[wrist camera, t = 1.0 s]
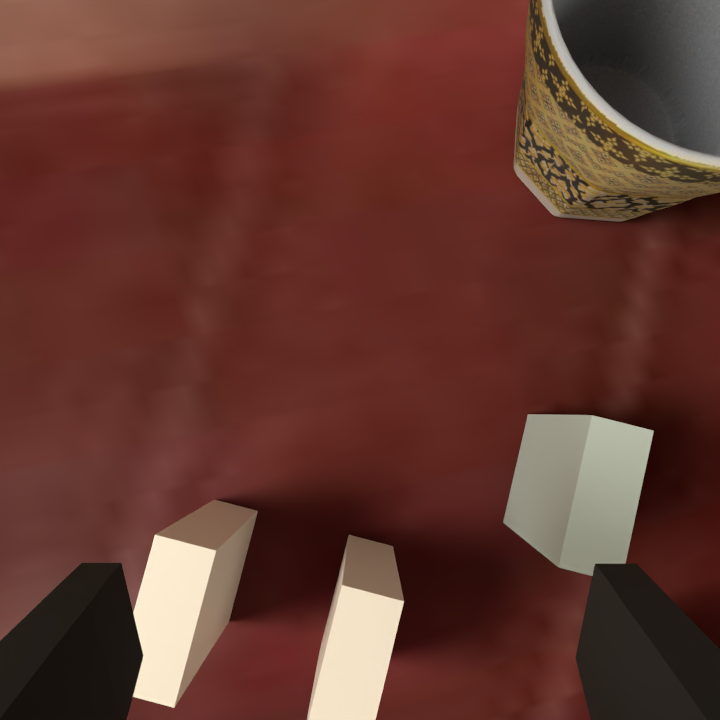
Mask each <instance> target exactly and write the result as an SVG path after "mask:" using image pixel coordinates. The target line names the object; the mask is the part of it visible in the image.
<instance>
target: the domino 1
mask: <svg viewBox="0 0 720 720" xmlns="http://www.w3.org/2000/svg"><path fill="white" fill-rule="evenodd" d="M257 513H258V511H257V510H253V509H249V508H245V507H241V506H237V505H233V504H230V503H226V502H222V501H218V500H213V501H211V502H209V503H208V504H206V505H204V506H203V507H201V508H199V509H198V510H196V511H194V512H193V513H191V514H189V515H188V516H186V517H184V518H182V519H181V520H179V521H177V522H176V523H174V524H172V525H171V526H169V527H167V528H166V529H164V530H162V531H160V532H159V533H157V534H155V537H154V541H153V544H152V548H151V552H150V555H149V559H148V562H147V566H146V570H145V573H144V577H143V580H142V584H141V588H140V591H139V595H138V599H137V602H136V606H135V609H134V613H133V615H134V619H135V623H136V627H137V631H138V635H139V640H140V644H141V648H142V652H143V660H142V663H141V667H140V671H139V675H138V679H137V683H136V687H135V690H134V694H133V697H136V698H140V699H144V700H147V701H151V702H155V703H159V704H162V705H166V706H170V707H173V708H174V707H175V706H176V704H177V702H178V701H179V699H180V698H181V696H182V695H183V693H184V691H185V690H186V688H187V687H188V685H189V684H190V682H191V680H192V679H193V677H194V676H195V674H196V673H197V671H198V669H199V668H200V666H201V665H202V663H203V662H204V660H205V659H206V657H207V655H208V654H209V652H210V651H211V649H212V648H213V646H214V644H215V643H216V641H217V640H218V638H219V637H220V635H221V633H222V632H223V630H224V629H225V627H226V626H227V624H228V622H229V620H230V616H231V612H232V608H233V604H234V601H235V597H236V593H237V589H238V585H239V582H240V578H241V574H242V570H243V566H244V563H245V559H246V555H247V551H248V547H249V544H250V540H251V536H252V532H253V528H254V525H255V521H256V517H257Z"/></svg>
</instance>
